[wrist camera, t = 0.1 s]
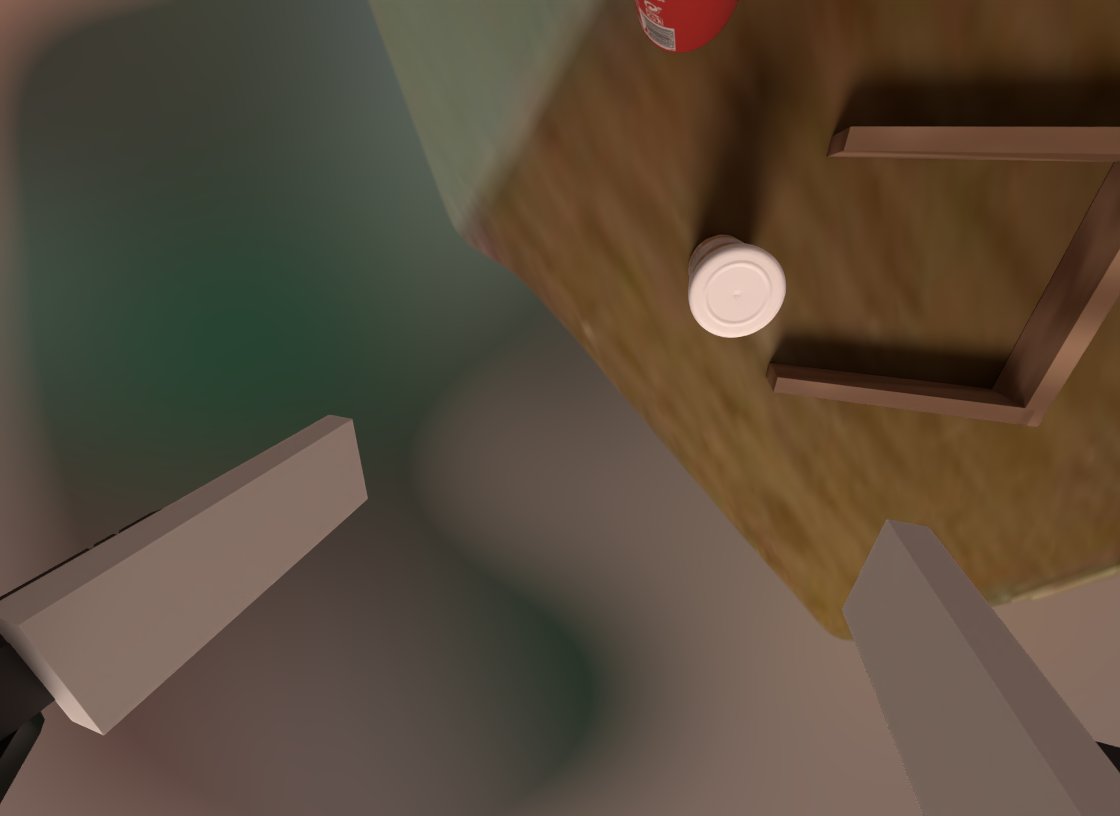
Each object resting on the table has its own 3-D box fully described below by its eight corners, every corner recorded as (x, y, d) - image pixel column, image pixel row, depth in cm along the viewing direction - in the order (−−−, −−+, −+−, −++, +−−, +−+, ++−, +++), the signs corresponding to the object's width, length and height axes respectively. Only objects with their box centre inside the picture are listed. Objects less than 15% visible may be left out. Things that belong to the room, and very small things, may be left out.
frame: (832, 135, 27) (850, 126, 24) (1154, 138, 24) (1223, 126, 21) (765, 375, 35) (773, 391, 32) (1003, 405, 31) (1037, 426, 28)
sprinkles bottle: (724, 305, 33) (744, 356, 22) (675, 275, 33) (670, 310, 22) (763, 252, 31) (810, 277, 19) (712, 221, 31) (727, 226, 20)
